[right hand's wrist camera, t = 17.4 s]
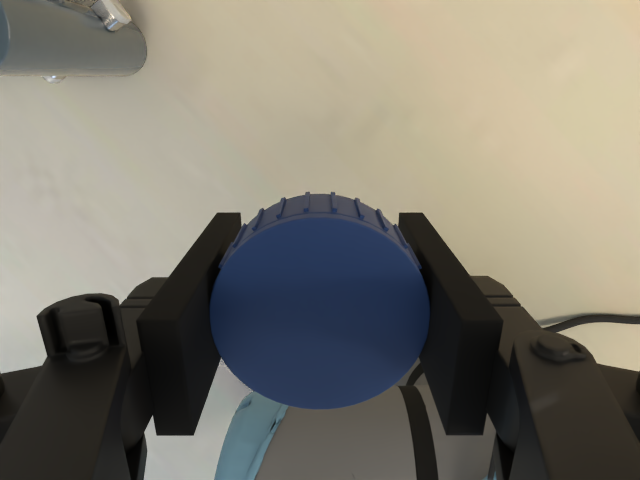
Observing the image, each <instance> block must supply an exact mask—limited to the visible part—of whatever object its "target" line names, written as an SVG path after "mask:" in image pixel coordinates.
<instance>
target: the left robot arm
mask: <svg viewBox="0 0 640 480" xmlns="http://www.w3.org/2000/svg"><path fill="white" fill-rule="evenodd" d="M90 8H91V9H92V10H93V12H94V13H95V14H96V15H97V16H98V17H101V21H102V23H103V25H104V26H105V27H106V28H107V29H108V30H110V31H115V32H118V31H119V30H120V29H121V28H123V27H124V26H125V25H126V24H128V23H129V22H130V21H131V17H130V16H129V14H128V13H127V12H126V10H125V9H124V8H123V6H122V5H121V4H120V2H119V1H118V0H97V1H96V2H95V3H94V4H93V5H92V6H91V7H90ZM42 77H43V78H44V79H45V80H46V81H48V82H49V83H60V82H61V81H62V80H63V79H64V78H65V77H66V76H42Z"/></svg>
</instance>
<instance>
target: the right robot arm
mask: <svg viewBox="0 0 640 480" xmlns="http://www.w3.org/2000/svg"><path fill="white" fill-rule="evenodd" d="M398 228H399V230H400V231H401V233H402V235H403V237H404V239H405V241H406V243H409V245H410V246H411V248H412V250H413V252H414V254H415V256H416V258H417V260H418V261H419V263H420V265H421V267H422V269H419V271H420V273H421V275H422V277H423V279H424V282H425V285H426V287H427V291H428V295H429V300H430V321H429V330H428V335H427V339H426V342H425V344H424V347H423V349H422V351H421V353H420V355H419V357H418V358H417V360H416V362H415V363H414V364H413V366H412V367H411V368H410V370H409V371H408V372H407V373H406V374H405V375H404V376H403V377H402V378H401V379H400V380H399V381H398V382H397V383H395V384H394V385H393V386H392V387H390V388H389V389H387V390H386V391H384V392H383V393H381V394H379V395H378V396H375V397H373V398H371V399H369V400H367V401H364V402H361V403H358V404H355V405H352V406H347V407H343V408H336V409H321V410H314V409H303V408H297V407H292V406H288V405H284V404H281V403H278V402H275V401H273V400H271V399H268V398H266V397H264V396H262V395H260V394H259V393H257V392H255V391H253V392H251V393H250V394H249V395H248V396H246V397H245V398H244V400H243V401H242V402H241V403H240V405H239V407H238V408H237V410H236V412H235V414H234V416H233V418H232V421H231V423H230V426H229V428H228V431H227V434H226V437H225V440H224V443H223V446H222V450H221V454H220V457H219V461H218V465H217V470H216V474H215V479H214V480H640V372H638V371H632V370H627V369H622V368H616V367H611V366H606V365H601V364H597V363H596V361H595V359H594V357H593V355H592V354H591V353H590V352H589V351H588V350H587V349H586V347H584V346H583V345H581V344H580V343H578V342H577V341H575V340H573V339H571V338H569V337H566V336H564V335H561V334H558V333H556V332H559V331H562V330H565V329H568V328H571V327H574V326H577V325H581V324H586V323H594V322H613V323H626V324H640V317H629V316H616V315H589V316H582V317H577V318H573V319H570V320H567V321H564V322H561V323H559V324H556V325H553V326H549V327H546V328H541V327H540V326H539V325H538V324H537V322H536V321H535V320H534V319H533V318H532V317H531V316H530V314H529V313H528V312H527V311H526V310H525V309H524V308H523V307H521V304H520V303H519V302H518V301H517V300H516V299H515V298H513V295H512V294H511V293H510V292H509V291H508V289H507V288H506V287H505V286H504V285H503V284H501V283H499V282H497V281H496V280H494V279H492V278H490V277H489V276H470V275H469V274H468V272H467V271H466V270H465V268H464V267H463V266H462V265H461V263H460V262H459V261H458V259H457V258H456V257H455V255H454V254H453V253H452V251H451V250H450V249H449V247H448V246H447V245H446V243H445V242H444V241H443V239H442V238H441V237H440V235H439V234H438V233H437V231H436V230H435V229H434V227H433V226H432V225H431V223H430V222H429V221H428V219H427V218H426V217H425V215H424V214H423V213H399V224H398ZM240 229H241V213H217V214H216V215H215V216H214V218H213V219H212V220H211V222H210V223H209V224H208V226H207V227H206V228H205V230H204V231H203V232H202V234H201V235H200V236H199V238H198V239H197V240H196V242H195V243H194V244H193V246H192V247H191V248H190V250H189V251H188V252H187V254H186V255H185V256H184V257H183V259H182V260H181V261H180V263H179V264H178V265H177V267H176V268H175V269H174V271H173V272H172V273H171V275H170V276H169V277H152V278H150V279H149V280H147V281H145V282H143V283H142V284H140V285H138V286H136V288H135V289H134V290H133V291H132V292H131V293H130V294H129V296H128V297H127V299H125V300H124V301H123V302H122V304H121V305H119V300H118V299H117V298H115V297H114V296H112V295H107V294H102V293H98V294H84V295H79V296H73V297H70V298H67V299H64V300H61V301H58V302H56V303H54V304H52V305H50V306H48V307H47V308H45V309H44V310H43V311H41V312H40V313H39V314H38V315H37V320H38V323H39V327H40V331H41V334H42V338H43V341H44V345H45V349H46V352H47V358H46V360H45V362H44V364H43V365H42V366H38V367H34V368H29V369H23V370H18V371H13V372H8V373H2V374H1V373H0V480H143V479H144V472H145V465H146V457H147V445H146V439H145V434H144V431H145V429H146V427H147V425H148V423H149V421H150V419H151V417H152V415H153V418H154V423H155V429H156V435H194V433H195V430H196V427H197V424H198V422H199V419H200V416H201V413H202V410H203V407H204V404H205V402H206V399H207V396H208V393H209V390H210V387H211V385H212V382H213V379H214V376H215V373H216V370H217V367H218V365H219V362H220V359H221V356H220V354H219V352H218V350H217V348H216V345H215V343H214V340H213V337H212V333H211V324H210V314H209V304H210V298H211V292H212V289H213V288H212V287H213V285H214V283H215V281H216V278H217V276H218V274H219V273H220V271H221V269H220V268H218V266H219V264H220V262H221V261H222V259H223V257H224V255H225V253H226V251H227V249H228V247H229V246H230V244H231V242H233V243H234V241H235V239H236V237H237V235H238V233H239V231H240Z"/></svg>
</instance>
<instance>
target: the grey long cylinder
mask: <svg viewBox="0 0 640 480" xmlns="http://www.w3.org/2000/svg"><path fill="white" fill-rule="evenodd" d="M146 54H147V48H146V42H145V39H144V37H143V35H142V33H141V31H140V30H139V29H138V27H137V26H136V25H135V24H134V23H132V22H131V21H130V22H129V23H128V24H126V25H125V26H124V27H123V28H121V29H120V30H119V31H118V32H115V31H110V30H108V29H107V28H106V27H105V26H104V25H103V23H102V21H101V17H98V16H97V15H96V14H95V13H94V12H93V10H92V9H91V8H90V7H88V6H85V5H81V4H78V3H75V2H72V1H68V0H0V76H130V75H132V74H134V73H136V72H137V71H139V70H140V69H141V67H142V66H143V64H144V62H145V59H146Z"/></svg>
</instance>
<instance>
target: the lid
mask: <svg viewBox="0 0 640 480" xmlns="http://www.w3.org/2000/svg"><path fill="white" fill-rule="evenodd" d="M218 268H220V269H221V271H220V273H219V274H218V276H217V278H216V281H215V283H214V285H213V287H212V288H213V289H212V292H211V298H210V304H209V314H210V324H211V333H212V337H213V340H214V343H215V345H216V348H217V350H218V352H219V354H220V356H221V357H222V359H223V361H224V362H225V364H226V365H227V367H228V368H229V369H230V370H231V371H232V373H233V374H234V375H235V376H236V377H237V378H238V379H239V380H241V381H242V382H243V383H244V384H245V385H247V386H248V387H249V388H251V389H252V390H253V391H255V392H257V393H259V394H260V395H262V396H264V397H266V398H268V399H271V400H273V401H275V402H278V403H281V404H284V405H288V406H292V407H297V408H303V409H314V410H321V409H336V408H343V407H347V406H352V405H355V404H358V403H361V402H364V401H367V400H369V399H371V398H373V397H375V396H378V395H379V394H381V393H383V392H384V391H386V390H387V389H389V388H390V387H392V386H393V385H394V384H395V383H397V382H398V381H399V380H400V379H401V378H402V377H403V376H404V375H405V374H406V373H407V372H408V371H409V370H410V368H411V367H412V366H413V364H414V363H415V362H416V360H417V358H418V357H419V355H420V353H421V351H422V349H423V347H424V344H425V342H426V339H427V335H428V330H429V321H430V300H429V295H428V291H427V287H426V285H425V282H424V279H423V277H422V275H421V273H420V271H419V269H422V267H421V265H420V263H419V261H418V260H417V258H416V256H415V254H414V252H413V250H412V248H411V246H410V245H409V243H406V241H405V239H404V237H403V235H402V233H401V231H400V230H399V228H398V226H397V225H396V224H395V225H394V226H393V225H392V224H391V223H390V222H389V221H388V220H387V219H386V218H385V217H384V216H383V214H382V212H381V210H379V209H377V210H374V209H373V208H371V207H369V206H367V205H365V204H363V203H361V202H360V199H358V198H355V200H353V199H351V198H346V197H342V196H338V195H335V192H331V195H329V194H310V192H306V193H305V195H302V196H297V197H293V198H290V199H286V198H285V197H284V198H281V201H280V202H279V203H277V204H274V205H272V206H271V207H269V208H267V209H266V210H264V209H263V208H262V209H260V210H259V213H258V215H257V216H256V217H255V218H253V219H252V220H251V221H250V222H249V224H248V225H246V224H245V223H244V224H243V226H242V227H241V229H240V231H239V233H238V235H237V237H236V239H235V241H234V243H233V242H231V244H230V246H229V247H228V249H227V251H226V253H225V255H224V257H223V259H222V261H221V262H220V264H219V266H218Z"/></svg>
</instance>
